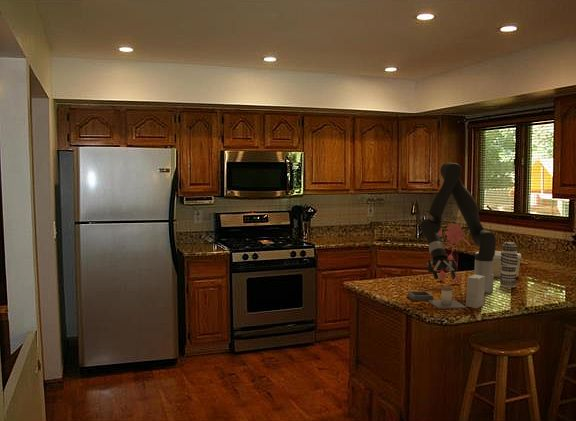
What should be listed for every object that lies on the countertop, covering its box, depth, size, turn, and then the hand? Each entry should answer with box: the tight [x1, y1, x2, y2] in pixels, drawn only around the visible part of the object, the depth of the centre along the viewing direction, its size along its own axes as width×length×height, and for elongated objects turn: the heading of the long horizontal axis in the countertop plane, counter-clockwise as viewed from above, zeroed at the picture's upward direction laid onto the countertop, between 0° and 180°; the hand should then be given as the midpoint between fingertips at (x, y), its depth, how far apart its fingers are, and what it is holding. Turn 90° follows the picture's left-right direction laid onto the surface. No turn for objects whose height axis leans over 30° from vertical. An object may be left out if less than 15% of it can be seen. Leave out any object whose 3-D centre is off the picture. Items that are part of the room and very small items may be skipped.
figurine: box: [437, 222, 472, 285], centre depth 316 cm, size 15×26×35 cm, turn 34°
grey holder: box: [407, 290, 434, 302], centre depth 276 cm, size 10×10×2 cm
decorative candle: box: [499, 241, 518, 288], centre depth 308 cm, size 9×9×25 cm
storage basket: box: [475, 250, 522, 279], centre depth 338 cm, size 24×16×15 cm
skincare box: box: [465, 273, 485, 309], centre depth 261 cm, size 8×6×15 cm
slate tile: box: [427, 299, 467, 310], centre depth 264 cm, size 14×14×1 cm
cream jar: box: [440, 285, 453, 305], centre depth 263 cm, size 5×5×8 cm
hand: (445, 278), depth 267 cm, fingers open, 8 cm apart
